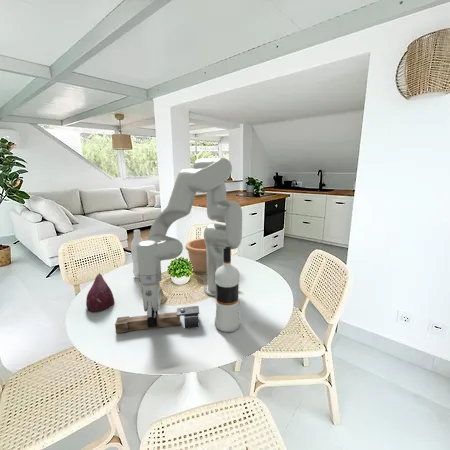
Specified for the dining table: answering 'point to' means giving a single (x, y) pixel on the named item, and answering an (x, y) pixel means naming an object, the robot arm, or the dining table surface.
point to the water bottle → (135, 251)
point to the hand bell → (162, 296)
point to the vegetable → (99, 296)
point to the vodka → (227, 294)
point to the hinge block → (189, 316)
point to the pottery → (197, 255)
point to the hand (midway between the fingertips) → (153, 323)
